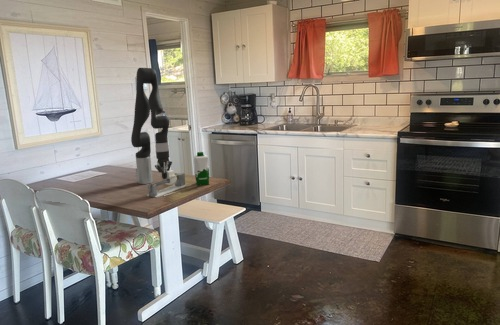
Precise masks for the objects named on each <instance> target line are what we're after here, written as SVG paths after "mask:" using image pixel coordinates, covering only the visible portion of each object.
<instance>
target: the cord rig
mask: <svg viewBox="0 0 500 325" xmlns="http://www.w3.org/2000/svg"><path fill="white" fill-rule="evenodd" d="M175 175H176V177H177V183H176V184H173V185H170V186H168V187H164V188H162V189H160V190H158V187H159V186H161V185H166V184H165V183H168V182H170V179H167V180H165V179H163V180H162V181H160V182H157V183H154V184H152V183H148V184H147V188H148V189H147V190H148V194H146V197H151V198H160V197H162V196H165V195H168V194H171V193H172V192H173V193H174V192H176V191H178V190H180V189H183V188H185V187H187V184H186V176H185V173H182V172H175Z"/></svg>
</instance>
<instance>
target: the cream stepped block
mask: <svg viewBox="0 0 500 325" xmlns="http://www.w3.org/2000/svg"><path fill="white" fill-rule="evenodd" d="M175 174H176V172H175V170H172V169H171V170H169V171H167V179H170V182H168V183H165V184H164V185H168V186H169V185H170V186H173V185H175V184H176V183H177V177H176V175H175ZM167 179H164V180H167Z"/></svg>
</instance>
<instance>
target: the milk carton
mask: <svg viewBox="0 0 500 325" xmlns="http://www.w3.org/2000/svg"><path fill="white" fill-rule="evenodd" d="M193 162H194V163H193V164H194V176H195V182H196V185H197V186H209V185H210V169H209V168H210V166H209V156H208V155H207V154H205V153H204V152H203V151H199V152H197V153H196V155H194V156H193Z"/></svg>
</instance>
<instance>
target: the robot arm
mask: <svg viewBox="0 0 500 325" xmlns="http://www.w3.org/2000/svg"><path fill="white" fill-rule="evenodd" d="M135 79H136V80H135V81H136V82H135V83H136V89H135V91H136V92H135V93H136V94H135V95H136V96H135V103H134V116H133V126H132V131H131V135H130V136H131V138H130V139H131V140H130V141H131V145H132V146H133V147H134V148H140V150H139V151H136V153H135V161H136V163H135V164H136V169H135V174H136V182H137V184H139V185H146V184H147V185H149V184H152V183H153V170H152V161H151V160H152V158H151V152H152V151H151V136H150V134H149V133H148V132H147V131H142V129H143V126H144V125H145V123H146V122H147V121H148V119H149V117H150V126H151V127H152V128H153V129H155V130H157V129H162V130H160V131H158V132H156V133H155V134H154V139H155V157H156V159H157V162H156V164H155V165H154V168H155V169H156V170H157V171H158V173H161V178H162V180H165V179H167V171H170V169H171V167H172V164H173V161H170V148H169V146H170V145H169V143H168V142H169V140H168V139H169V138H168V137H169V136H168V133H169V127H170V119H169V116H167V115H161V114H162V113H163V112H164V110H163V108H164V107H163V105H162V100H161V98H160V92H159V91H160V89H159V81H158V75H157V71H156V69H155V68H152V67H138V68H137V70H136V77H135ZM144 84H149V85H151V91H150V94H149V95H148V96H147V95H146V92H145V88H144Z"/></svg>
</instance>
